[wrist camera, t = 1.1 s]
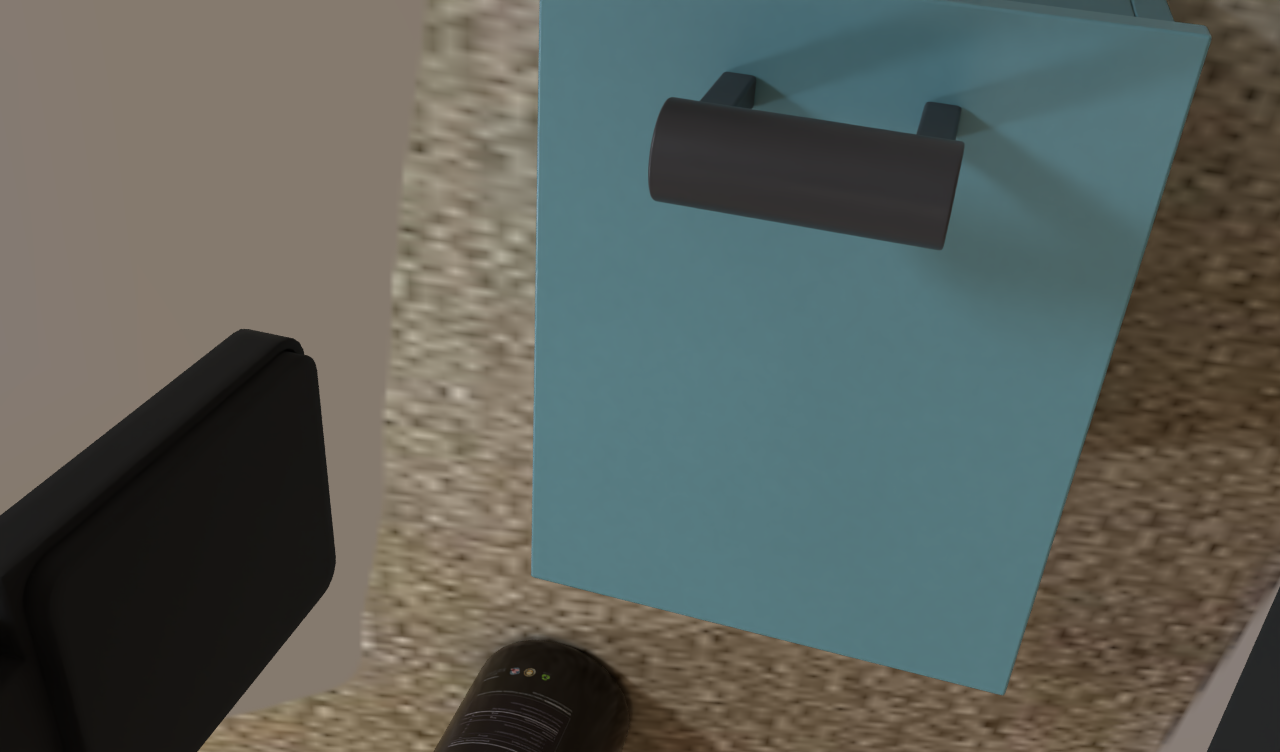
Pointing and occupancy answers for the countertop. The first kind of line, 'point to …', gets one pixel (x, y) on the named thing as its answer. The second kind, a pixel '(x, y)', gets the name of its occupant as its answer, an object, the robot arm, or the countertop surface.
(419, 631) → the countertop surface
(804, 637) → the teal box lid
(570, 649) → the supplement bottle
